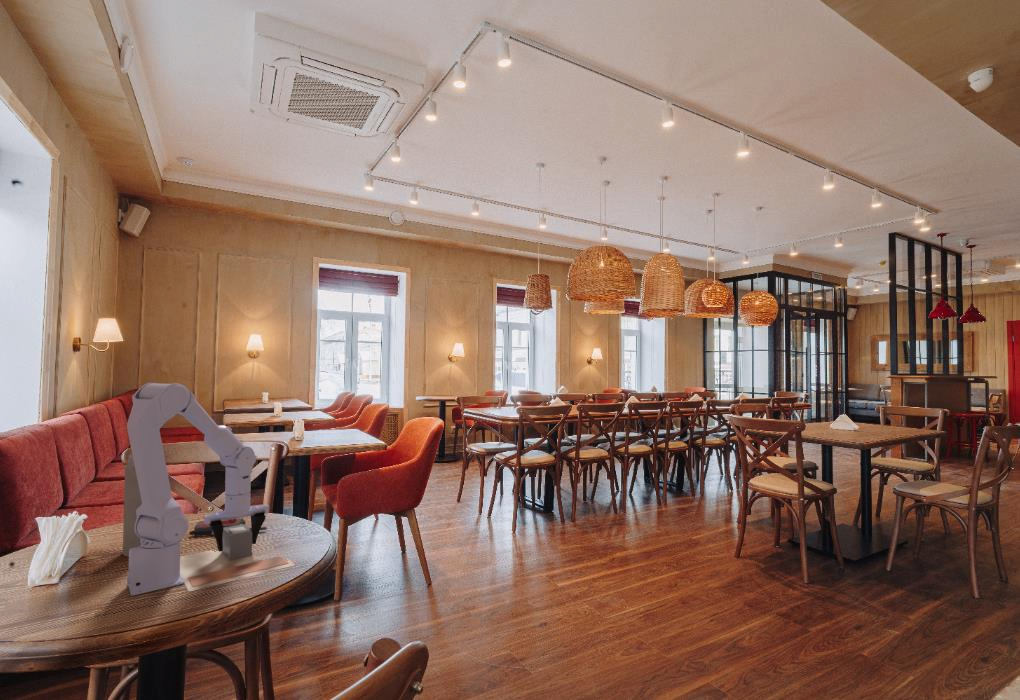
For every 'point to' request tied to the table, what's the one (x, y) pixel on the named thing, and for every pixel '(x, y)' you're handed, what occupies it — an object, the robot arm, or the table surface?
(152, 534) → the robot arm
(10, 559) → the table surface
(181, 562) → the subfloor panel
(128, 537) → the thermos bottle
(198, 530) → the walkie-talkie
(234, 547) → the block
